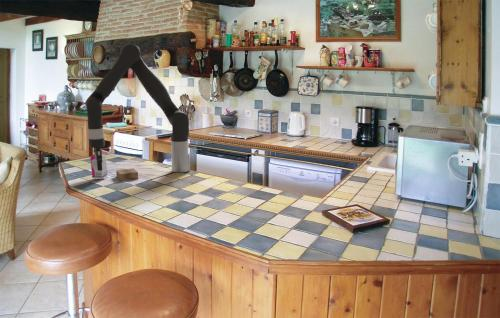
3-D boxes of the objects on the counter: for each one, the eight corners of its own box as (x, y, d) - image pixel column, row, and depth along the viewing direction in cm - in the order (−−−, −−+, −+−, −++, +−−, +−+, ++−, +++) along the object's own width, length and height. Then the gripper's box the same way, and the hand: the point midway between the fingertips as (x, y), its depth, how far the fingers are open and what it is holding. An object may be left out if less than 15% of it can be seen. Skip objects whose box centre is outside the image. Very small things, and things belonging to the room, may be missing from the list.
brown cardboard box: (133, 175, 219) (133, 168, 218) (138, 179, 212) (137, 172, 211) (116, 177, 215) (116, 170, 214) (120, 181, 207) (120, 174, 206)
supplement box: (107, 174, 213) (106, 153, 210) (102, 178, 207) (100, 156, 204) (97, 174, 213) (95, 153, 211) (91, 177, 208) (89, 155, 205)
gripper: (105, 139, 201) (108, 171, 205) (102, 134, 214) (105, 164, 217) (89, 140, 198) (92, 172, 202) (87, 135, 210) (90, 166, 214)
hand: (99, 168), depth 209 cm, fingers closed on supplement box, 7 cm apart
